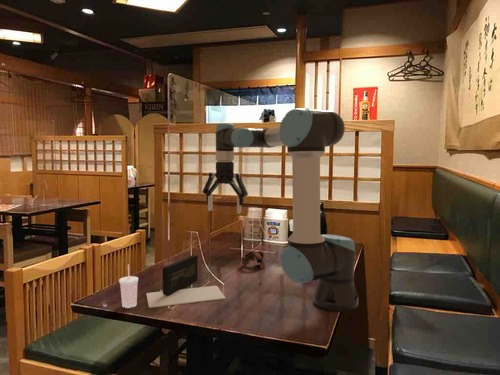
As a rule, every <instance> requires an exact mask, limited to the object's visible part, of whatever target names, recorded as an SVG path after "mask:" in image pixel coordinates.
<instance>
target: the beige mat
mask: <svg viewBox="0 0 500 375" xmlns="http://www.w3.org/2000/svg"><path fill="white" fill-rule="evenodd" d="M145 294H146V295H145V296H146V300H147V305H148V308H149V309H153V308H162V307H170V306H178V305H187V304H194V303H203V302H204V303H205V302H211V301H212V302H213V301H221V300H222V301H223V300H226V297H225V294H224V293H223V292H222V291H221V289H220V288H219V286H217V285H210V286H201V287H200V286H199V287H191V288H190V287H189V288H182V289H180V290H178V291H176V292H174V293H173V294H171V295H164V294H163V290H161V291H154V292H147V293H145Z"/></svg>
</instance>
